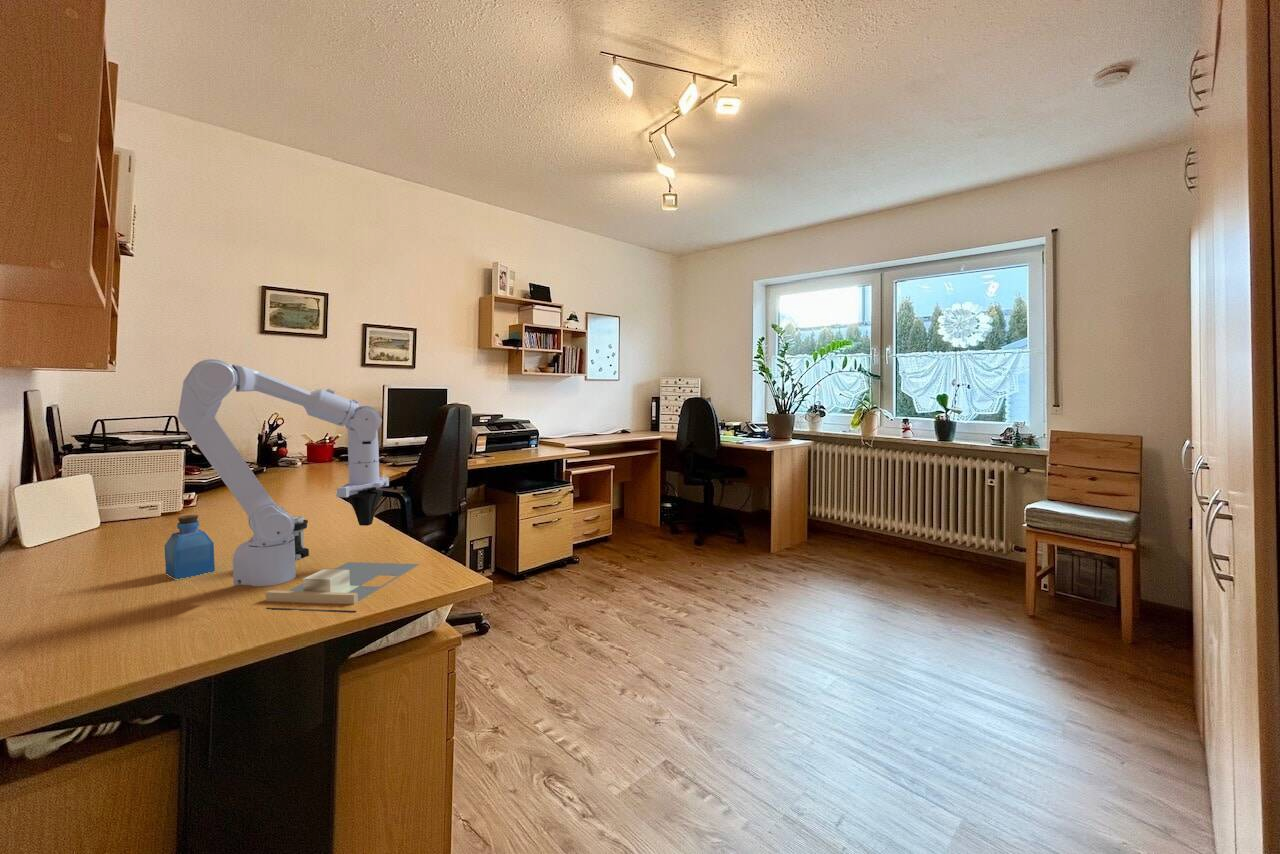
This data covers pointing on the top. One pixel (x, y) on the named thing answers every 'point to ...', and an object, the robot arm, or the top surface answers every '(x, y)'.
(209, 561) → the perfume bottle
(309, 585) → the maple block
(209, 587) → the top surface
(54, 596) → the top surface
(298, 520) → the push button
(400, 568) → the board
